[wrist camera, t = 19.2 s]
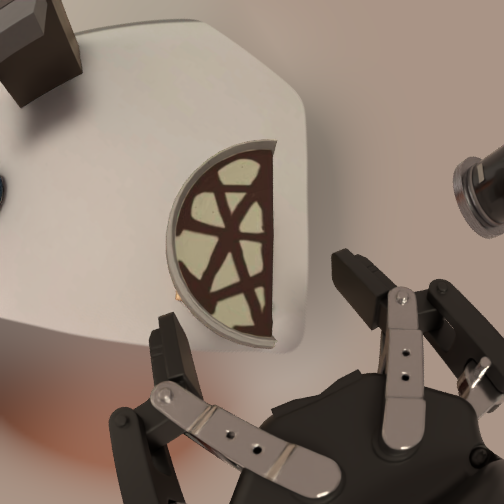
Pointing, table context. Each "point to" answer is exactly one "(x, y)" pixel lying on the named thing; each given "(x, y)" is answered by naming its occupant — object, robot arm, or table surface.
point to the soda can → (1, 190)
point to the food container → (227, 243)
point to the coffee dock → (36, 48)
